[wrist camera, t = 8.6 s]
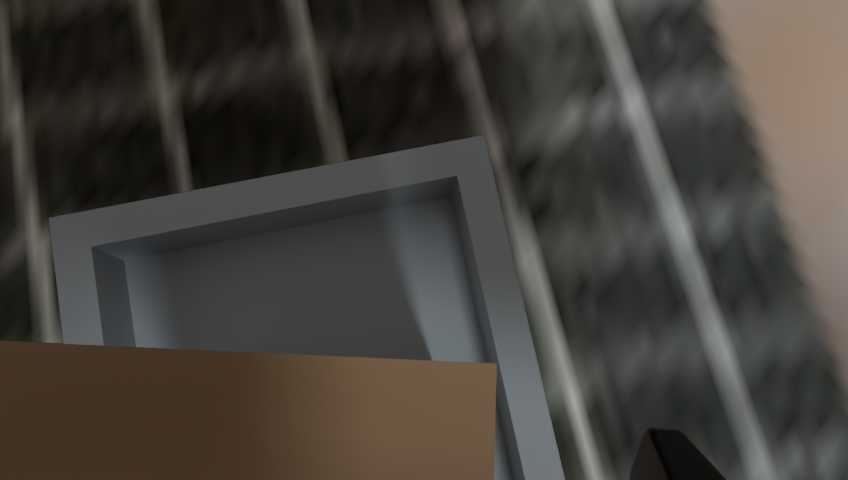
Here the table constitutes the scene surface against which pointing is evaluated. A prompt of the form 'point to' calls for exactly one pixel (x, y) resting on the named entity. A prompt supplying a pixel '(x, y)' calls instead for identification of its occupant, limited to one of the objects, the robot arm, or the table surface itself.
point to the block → (240, 415)
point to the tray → (322, 276)
